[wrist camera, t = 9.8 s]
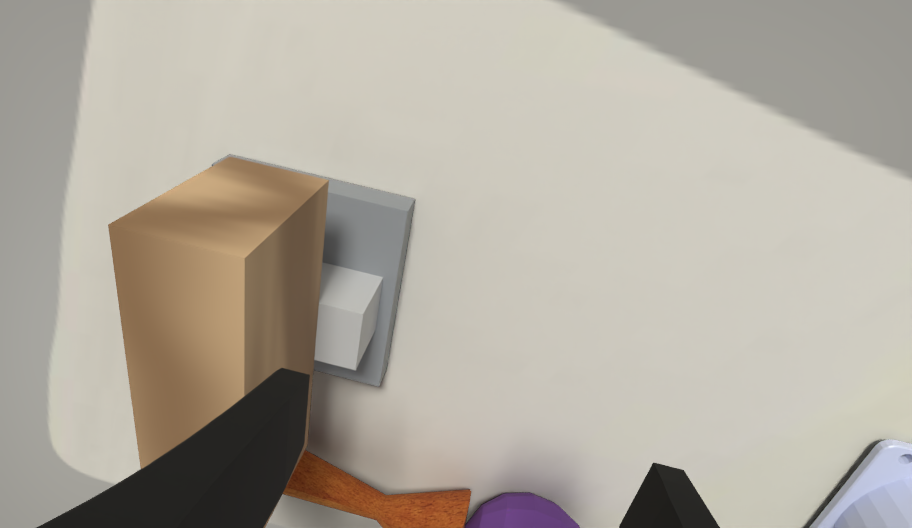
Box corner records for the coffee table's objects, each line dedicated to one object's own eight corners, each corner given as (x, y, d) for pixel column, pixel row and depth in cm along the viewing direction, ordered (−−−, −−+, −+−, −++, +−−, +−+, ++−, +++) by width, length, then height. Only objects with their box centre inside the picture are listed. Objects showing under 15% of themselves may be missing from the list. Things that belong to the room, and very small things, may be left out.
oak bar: (329, 180, 16) (244, 258, 11) (307, 445, 21) (244, 568, 17) (229, 156, 16) (108, 224, 11) (232, 425, 21) (150, 543, 17)
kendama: (136, 402, 21) (623, 604, 20) (223, 340, 27) (608, 494, 26) (117, 516, 23) (561, 706, 22) (202, 435, 29) (559, 584, 28)
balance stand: (415, 198, 20) (389, 242, 16) (386, 368, 23) (360, 431, 20) (229, 154, 20) (167, 188, 17) (231, 329, 24) (181, 384, 20)
